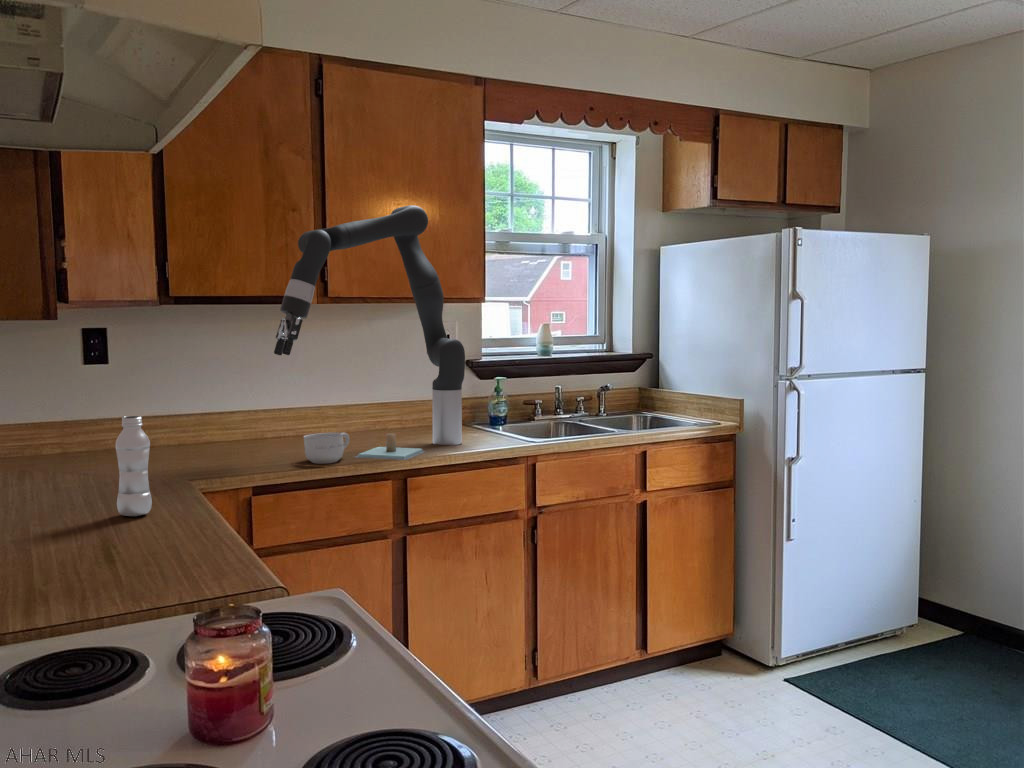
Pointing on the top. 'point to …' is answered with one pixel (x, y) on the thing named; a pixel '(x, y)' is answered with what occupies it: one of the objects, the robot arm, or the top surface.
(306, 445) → the teacup
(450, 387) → the robot arm
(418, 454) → the mat
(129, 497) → the plastic bottle
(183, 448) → the top surface
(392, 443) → the lid
